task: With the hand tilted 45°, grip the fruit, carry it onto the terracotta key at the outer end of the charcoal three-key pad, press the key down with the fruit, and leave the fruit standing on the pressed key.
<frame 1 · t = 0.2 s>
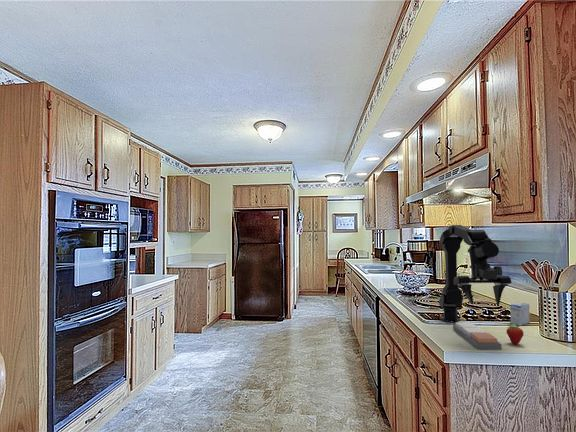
hand: (485, 304, 130), 15 cm above the worktop, tool tilted 15°, fingers open, 9 cm apart
fruit: (515, 344, 131), on the worktop
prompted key: (483, 338, 131), point 2 cm above the worktop, slide at 0.0 cm
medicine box: (520, 323, 158), on the worktop
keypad: (475, 338, 138), on the worktop
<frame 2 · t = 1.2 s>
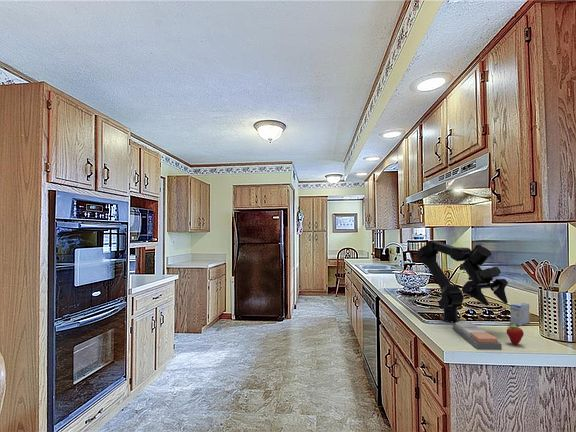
hand: (497, 304, 139), 13 cm above the worktop, tool tilted 45°, fingers open, 9 cm apart
nothing on the worktop moved.
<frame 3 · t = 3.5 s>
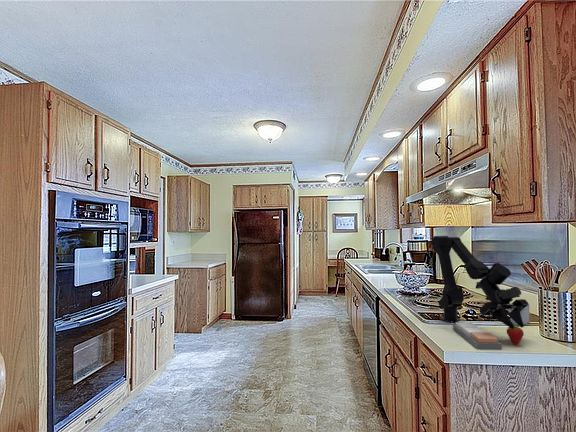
hand: (518, 327, 130), 7 cm above the worktop, tool tilted 45°, fingers closed on fruit, 4 cm apart
fruit: (515, 344, 131), on the worktop, touching gripper
everything else where it was.
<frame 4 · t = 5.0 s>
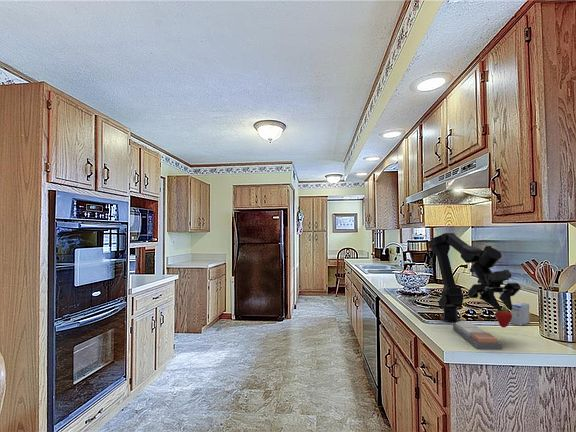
hand: (505, 310, 130), 13 cm above the worktop, tool tilted 45°, fingers closed on fruit, 4 cm apart
fruit: (503, 327, 131), point 6 cm above the worktop, touching gripper
everything else where it was.
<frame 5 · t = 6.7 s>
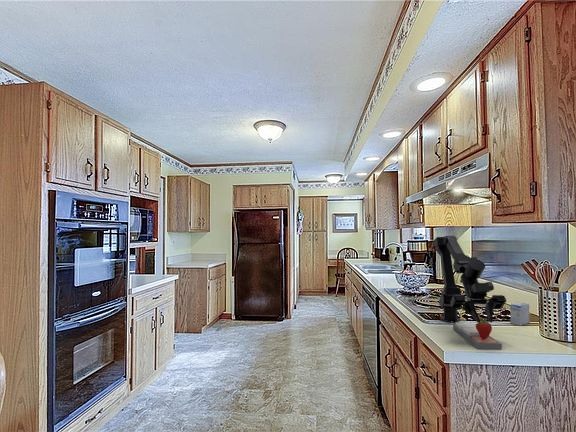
hand: (485, 321, 130), 9 cm above the worktop, tool tilted 45°, fingers closed on fruit, 4 cm apart
fruit: (484, 339, 131), point 2 cm above the worktop, touching gripper, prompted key
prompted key: (484, 342, 131), point 1 cm above the worktop, slide at 1.3 cm, touching fruit
everything else where it was.
when the fingers open (9 cm above the worktop, at t = 6.9 s): fruit stays where it is, resting on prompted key.
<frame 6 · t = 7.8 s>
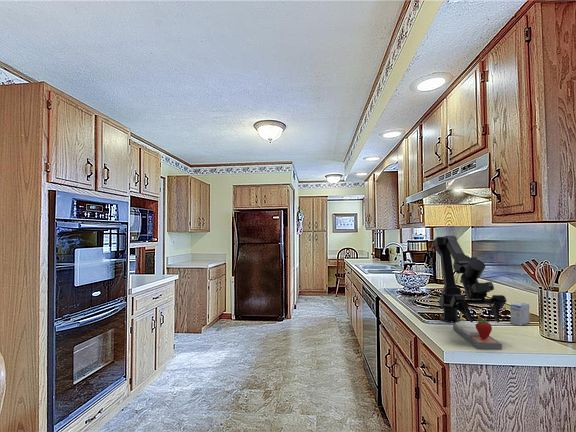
hand: (485, 321, 130), 9 cm above the worktop, tool tilted 45°, fingers open, 9 cm apart
fruit: (484, 339, 131), point 2 cm above the worktop, touching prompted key
everything else where it was.
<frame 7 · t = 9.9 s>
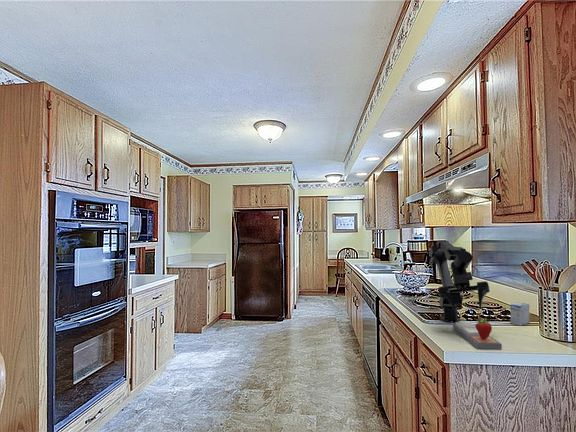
hand: (467, 309, 141), 10 cm above the worktop, tool tilted 35°, fingers open, 9 cm apart
nothing on the worktop moved.
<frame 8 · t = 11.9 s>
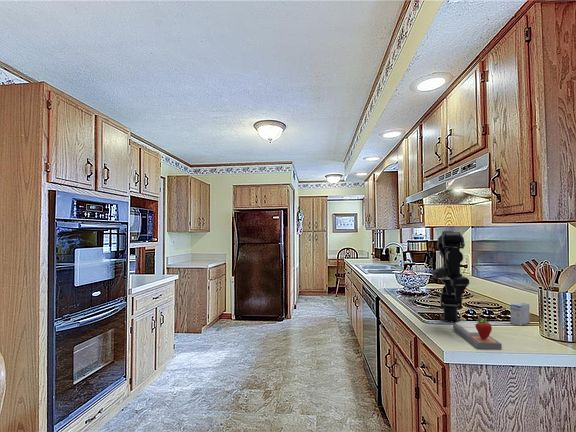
hand: (453, 298, 151), 13 cm above the worktop, tool pointing down, fingers open, 9 cm apart
nothing on the worktop moved.
at the end: fruit 0.2 cm from the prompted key (horizontally); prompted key slide at 1.3 cm; fruit tilted 0° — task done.
